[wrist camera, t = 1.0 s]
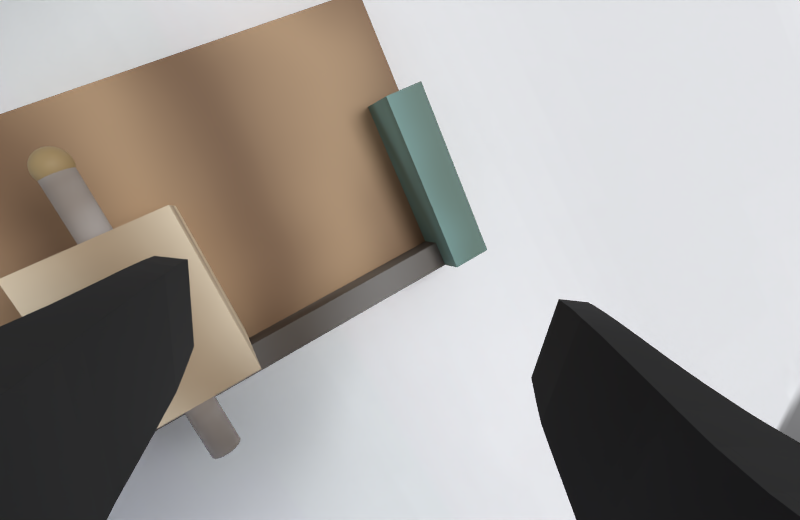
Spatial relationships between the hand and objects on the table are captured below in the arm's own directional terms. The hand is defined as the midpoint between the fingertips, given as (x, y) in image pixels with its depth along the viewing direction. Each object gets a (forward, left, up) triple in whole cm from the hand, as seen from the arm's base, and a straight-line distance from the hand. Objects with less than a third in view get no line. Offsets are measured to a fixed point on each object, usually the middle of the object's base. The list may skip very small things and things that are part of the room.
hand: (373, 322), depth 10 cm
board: (-1, +3, -11) cm, 12 cm away
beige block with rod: (-4, +1, -10) cm, 11 cm away
